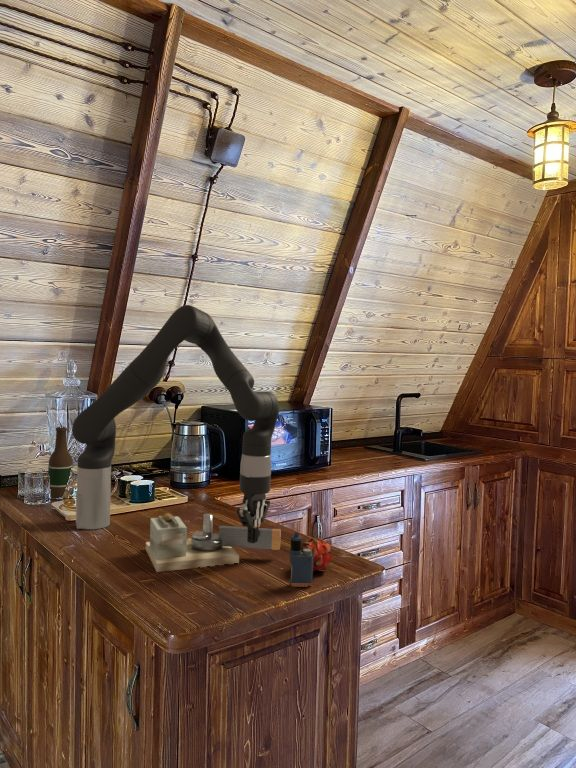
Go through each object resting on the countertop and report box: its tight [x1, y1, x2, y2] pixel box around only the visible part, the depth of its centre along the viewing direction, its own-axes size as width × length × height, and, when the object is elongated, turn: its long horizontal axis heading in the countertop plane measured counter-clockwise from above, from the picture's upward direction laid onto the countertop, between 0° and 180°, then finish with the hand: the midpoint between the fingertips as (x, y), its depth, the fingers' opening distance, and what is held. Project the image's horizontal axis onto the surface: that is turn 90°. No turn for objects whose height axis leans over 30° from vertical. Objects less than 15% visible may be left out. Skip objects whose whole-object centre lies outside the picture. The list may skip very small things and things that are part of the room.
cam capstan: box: [190, 513, 282, 551], centre depth 149 cm, size 22×8×8 cm, turn 86°
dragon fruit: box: [301, 537, 333, 571], centre depth 142 cm, size 8×8×12 cm
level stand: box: [145, 512, 240, 573], centre depth 148 cm, size 20×16×11 cm
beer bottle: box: [47, 426, 74, 498], centre depth 199 cm, size 8×8×24 cm
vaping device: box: [289, 531, 314, 584], centre depth 132 cm, size 3×5×12 cm, turn 95°
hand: (252, 542), depth 146 cm, fingers closed
